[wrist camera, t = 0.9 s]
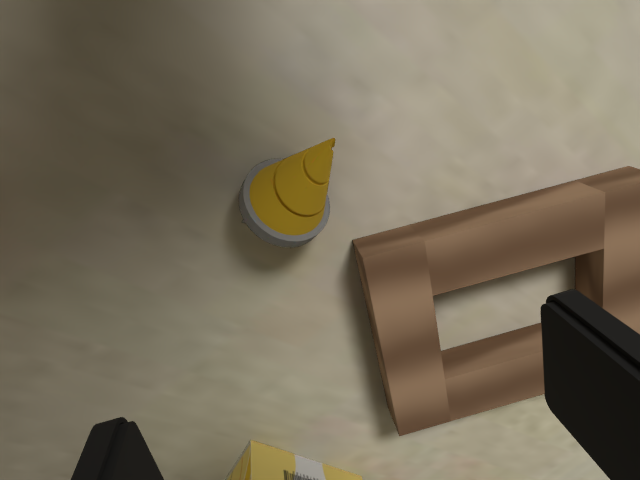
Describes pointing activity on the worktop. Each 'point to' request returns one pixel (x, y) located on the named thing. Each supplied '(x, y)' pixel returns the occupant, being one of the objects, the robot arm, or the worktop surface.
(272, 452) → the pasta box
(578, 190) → the walnut socket block
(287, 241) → the yellow stepped cone
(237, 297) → the worktop surface
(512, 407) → the worktop surface
